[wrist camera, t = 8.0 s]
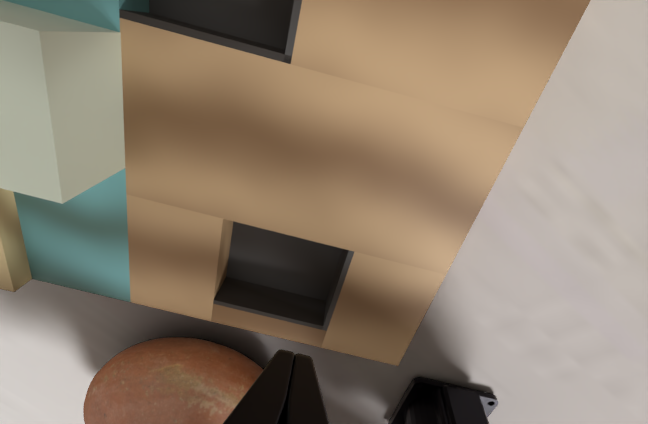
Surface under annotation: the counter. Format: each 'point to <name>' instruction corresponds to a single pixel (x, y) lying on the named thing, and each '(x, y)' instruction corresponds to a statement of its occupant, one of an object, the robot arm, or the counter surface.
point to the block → (58, 104)
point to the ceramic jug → (170, 383)
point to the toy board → (294, 159)
